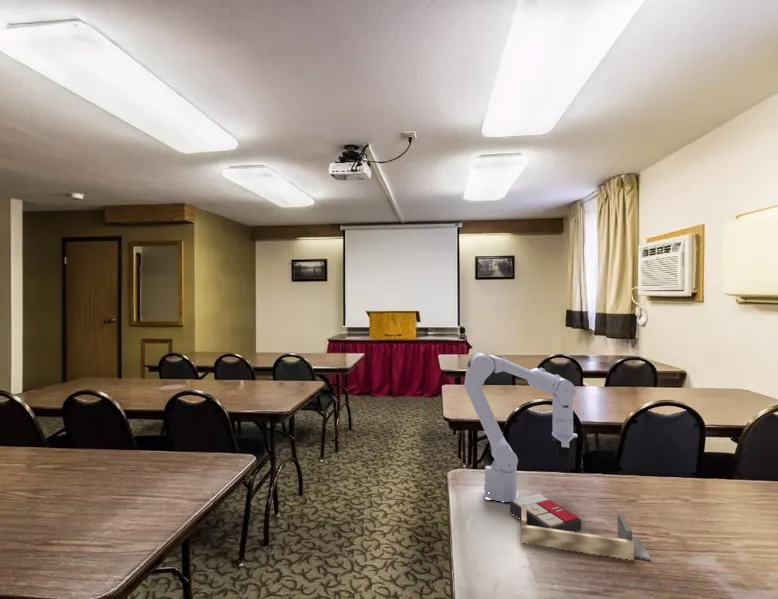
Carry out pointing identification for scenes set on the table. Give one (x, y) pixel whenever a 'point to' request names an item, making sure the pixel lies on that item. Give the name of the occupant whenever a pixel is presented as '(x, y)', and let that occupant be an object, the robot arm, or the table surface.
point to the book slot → (586, 540)
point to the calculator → (545, 513)
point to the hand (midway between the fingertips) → (563, 464)
